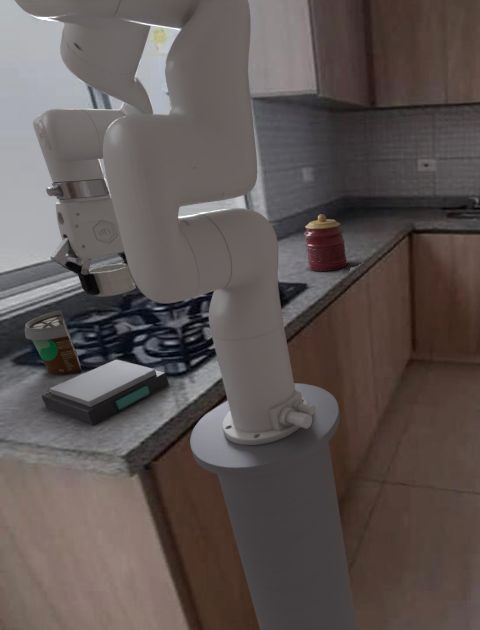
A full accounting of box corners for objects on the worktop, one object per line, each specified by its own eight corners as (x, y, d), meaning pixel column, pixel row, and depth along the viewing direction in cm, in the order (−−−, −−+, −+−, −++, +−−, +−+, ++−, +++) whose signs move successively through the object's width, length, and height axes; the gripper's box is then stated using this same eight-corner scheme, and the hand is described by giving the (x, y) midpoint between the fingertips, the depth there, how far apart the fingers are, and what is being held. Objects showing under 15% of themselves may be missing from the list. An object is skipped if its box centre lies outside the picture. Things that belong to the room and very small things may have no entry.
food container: (40, 363, 90) (21, 317, 86) (77, 353, 93) (60, 309, 90) (41, 385, 81) (20, 335, 77) (82, 373, 84) (64, 325, 81)
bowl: (143, 287, 85) (136, 264, 84) (107, 298, 80) (99, 274, 78) (122, 284, 88) (115, 262, 87) (86, 294, 83) (78, 271, 81)
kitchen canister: (309, 263, 156) (302, 213, 149) (346, 260, 157) (341, 210, 151) (307, 273, 144) (299, 218, 137) (347, 269, 146) (341, 215, 139)
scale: (171, 385, 78) (166, 368, 77) (95, 426, 67) (87, 407, 66) (123, 372, 84) (118, 356, 83) (46, 408, 73) (38, 390, 72)
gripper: (37, 197, 69) (75, 304, 75) (143, 186, 83) (168, 276, 89) (13, 198, 72) (52, 300, 78) (119, 186, 86) (145, 274, 93)
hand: (114, 287), depth 84 cm, fingers closed on bowl, 6 cm apart
